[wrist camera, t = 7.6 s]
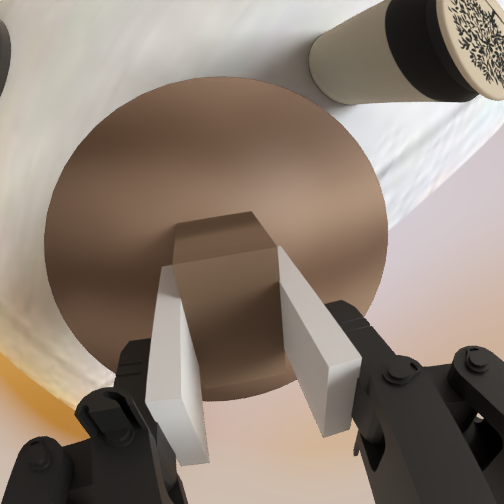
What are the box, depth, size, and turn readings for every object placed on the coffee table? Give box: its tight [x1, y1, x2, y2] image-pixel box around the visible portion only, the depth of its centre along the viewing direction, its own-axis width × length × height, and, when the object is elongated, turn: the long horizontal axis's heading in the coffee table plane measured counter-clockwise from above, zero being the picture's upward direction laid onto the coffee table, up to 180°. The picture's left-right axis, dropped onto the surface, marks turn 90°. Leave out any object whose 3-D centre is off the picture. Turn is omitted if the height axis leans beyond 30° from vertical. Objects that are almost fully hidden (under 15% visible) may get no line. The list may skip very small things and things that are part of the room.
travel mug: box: [309, 0, 504, 105], centre depth 18 cm, size 8×8×18 cm
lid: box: [44, 77, 388, 401], centre depth 12 cm, size 16×16×5 cm
